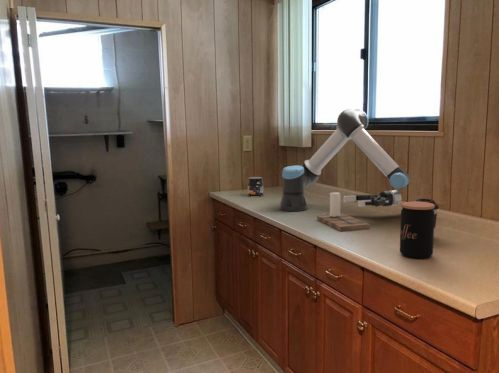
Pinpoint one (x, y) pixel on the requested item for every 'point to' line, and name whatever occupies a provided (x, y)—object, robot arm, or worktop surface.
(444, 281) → the worktop surface
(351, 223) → the board
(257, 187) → the supplement container
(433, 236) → the coffee cup
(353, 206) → the worktop surface
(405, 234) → the coffee jar
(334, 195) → the fader tab
